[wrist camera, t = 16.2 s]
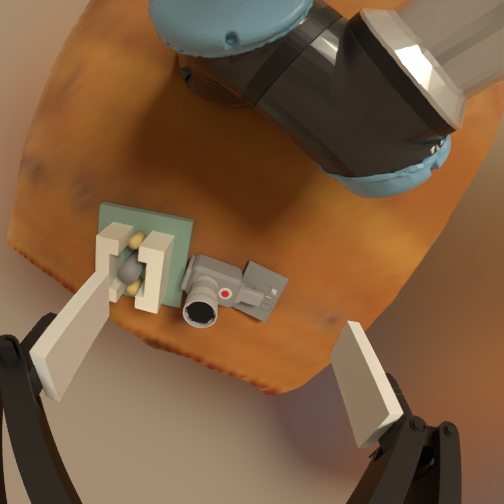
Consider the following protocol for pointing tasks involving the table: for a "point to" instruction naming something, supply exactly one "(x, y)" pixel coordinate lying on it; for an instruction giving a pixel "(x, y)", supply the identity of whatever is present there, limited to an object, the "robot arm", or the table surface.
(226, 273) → the camera
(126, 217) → the board
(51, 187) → the table surface
